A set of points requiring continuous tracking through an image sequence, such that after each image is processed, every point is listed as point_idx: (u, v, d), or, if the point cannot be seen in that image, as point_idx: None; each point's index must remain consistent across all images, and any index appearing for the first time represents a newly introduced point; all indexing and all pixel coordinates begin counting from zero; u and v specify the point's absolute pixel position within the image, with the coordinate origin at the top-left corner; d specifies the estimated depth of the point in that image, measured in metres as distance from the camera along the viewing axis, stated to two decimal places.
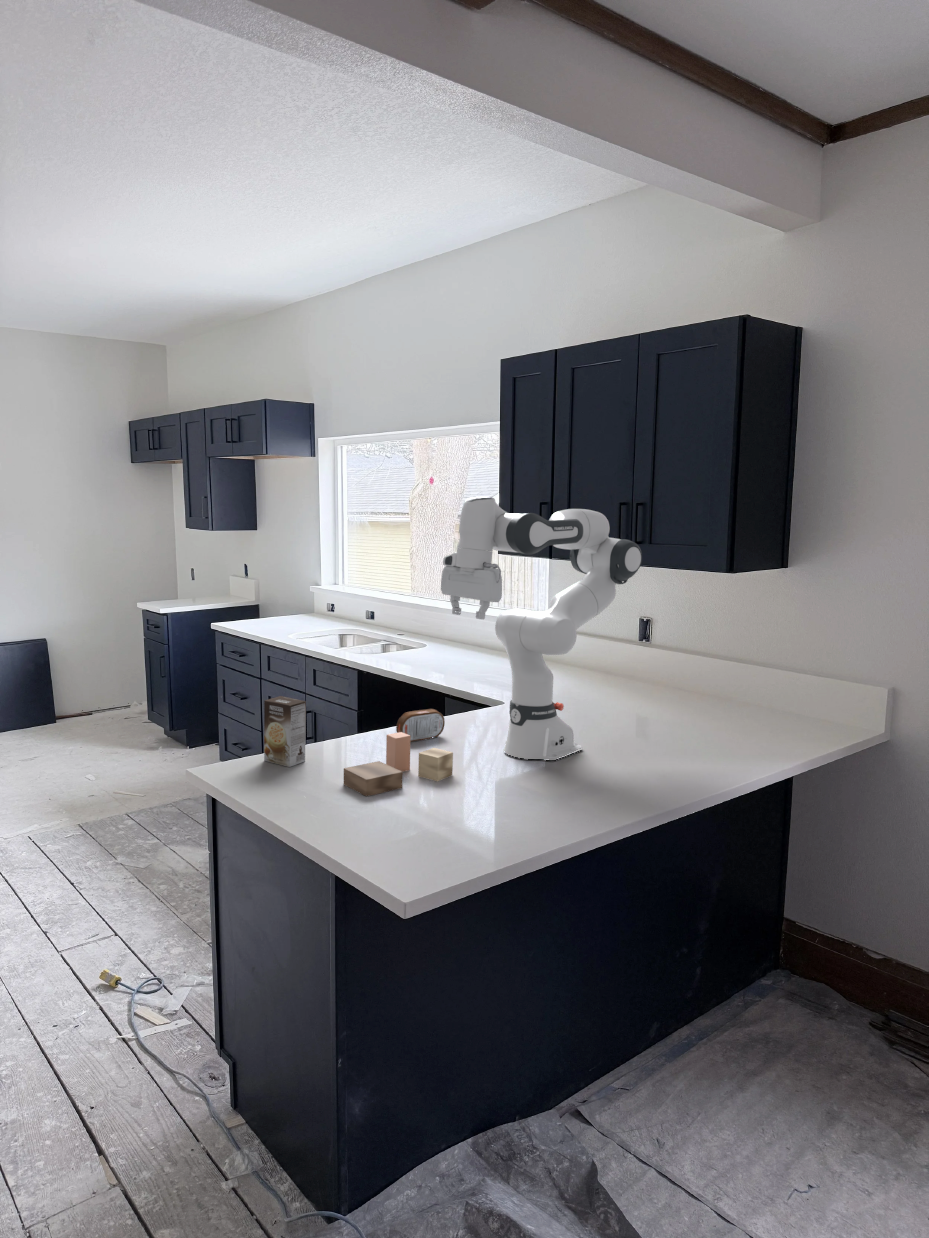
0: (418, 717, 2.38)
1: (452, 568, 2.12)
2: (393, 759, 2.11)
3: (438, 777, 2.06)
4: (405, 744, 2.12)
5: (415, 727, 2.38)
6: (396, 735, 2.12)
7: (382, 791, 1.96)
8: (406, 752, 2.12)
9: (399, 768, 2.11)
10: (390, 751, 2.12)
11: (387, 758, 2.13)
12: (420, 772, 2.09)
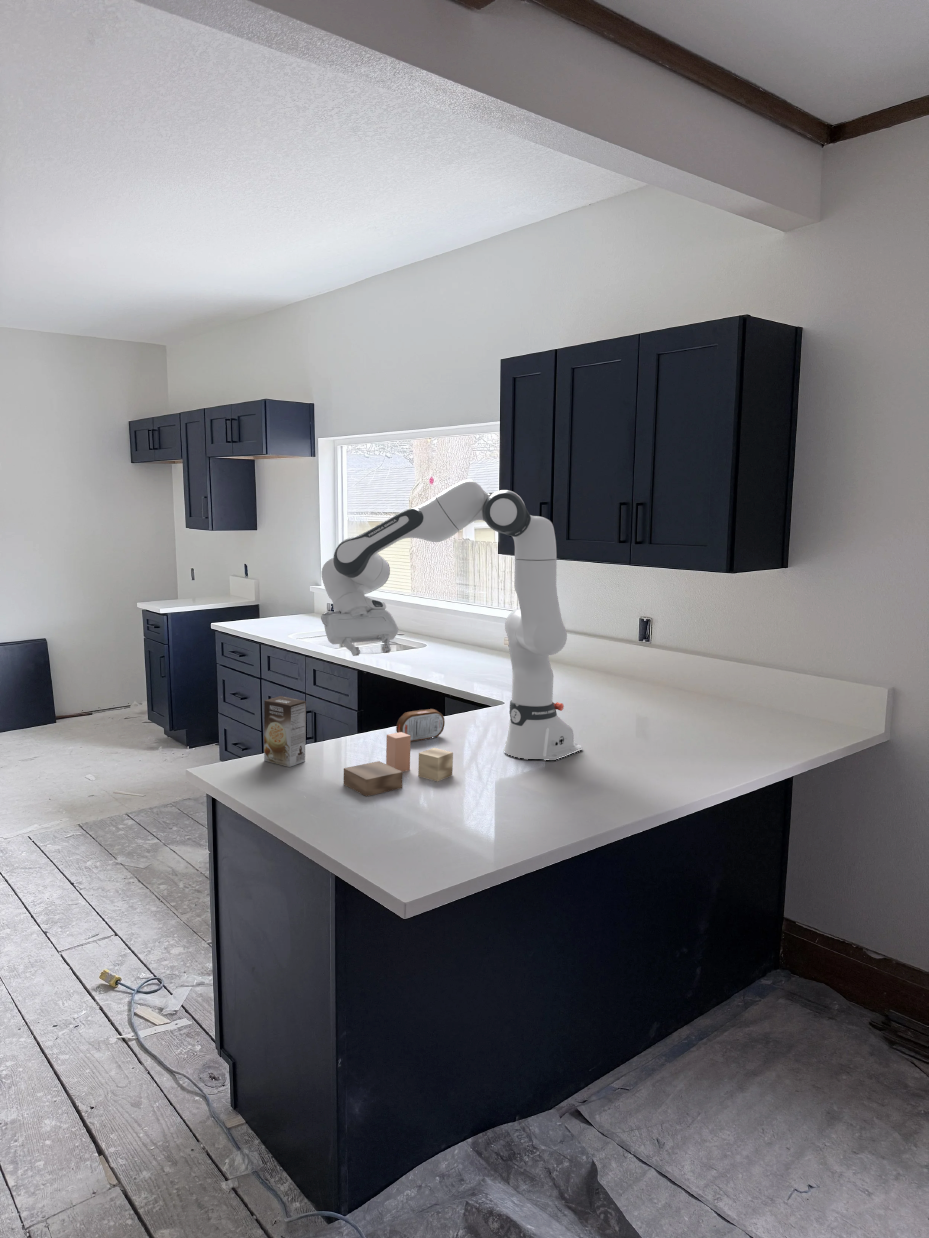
0: (418, 717, 2.38)
1: None
2: (393, 759, 2.11)
3: (438, 777, 2.06)
4: (405, 744, 2.12)
5: (415, 727, 2.38)
6: (396, 735, 2.12)
7: (382, 791, 1.96)
8: (406, 752, 2.12)
9: (399, 768, 2.11)
10: (390, 751, 2.12)
11: (387, 758, 2.13)
12: (420, 772, 2.09)
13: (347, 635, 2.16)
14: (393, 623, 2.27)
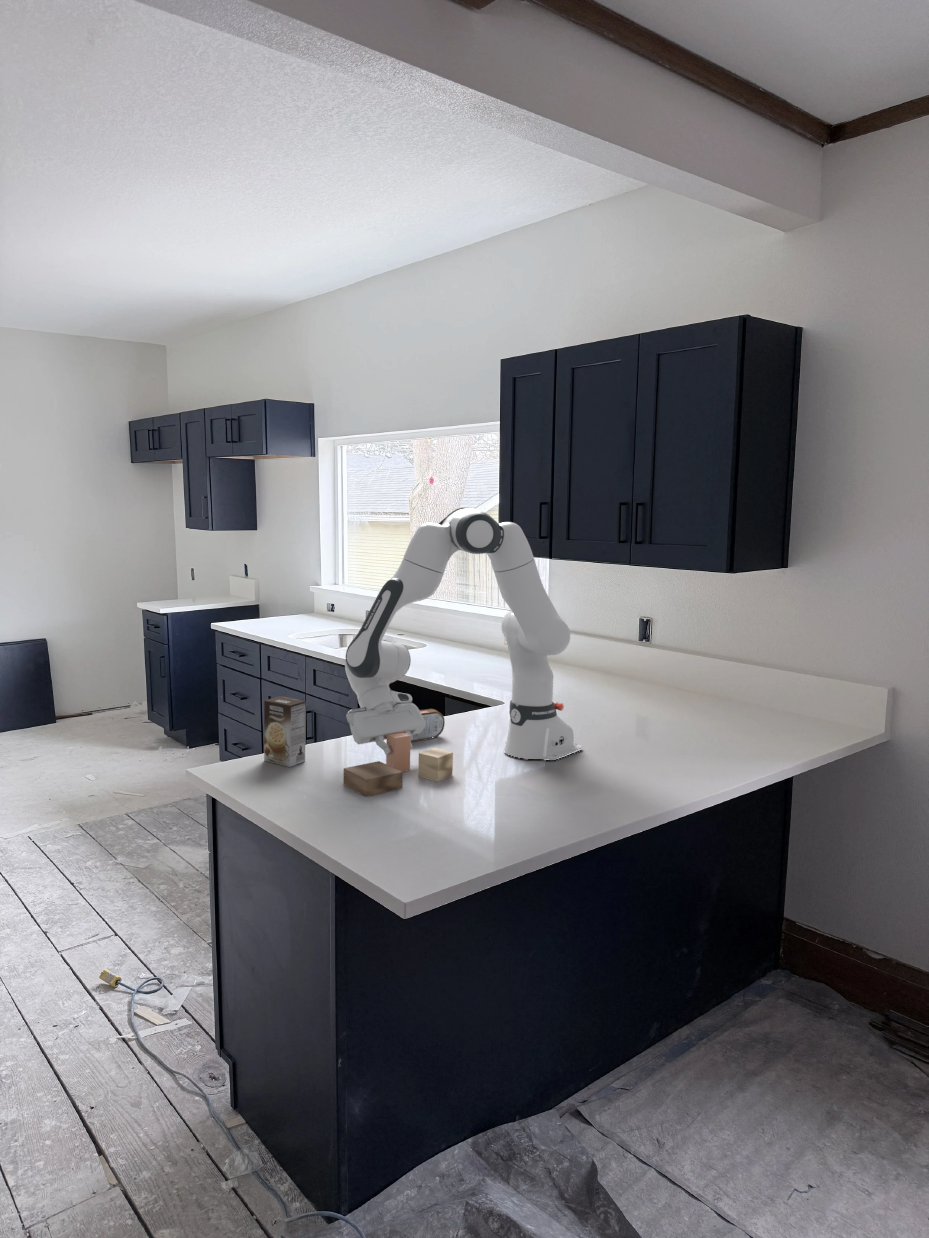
0: None
1: None
2: (393, 759, 2.11)
3: (438, 777, 2.06)
4: (405, 744, 2.12)
5: None
6: (396, 735, 2.12)
7: (382, 791, 1.96)
8: (406, 752, 2.12)
9: (399, 768, 2.11)
10: None
11: (387, 758, 2.13)
12: (420, 772, 2.09)
13: (373, 734, 2.10)
14: (420, 717, 2.20)
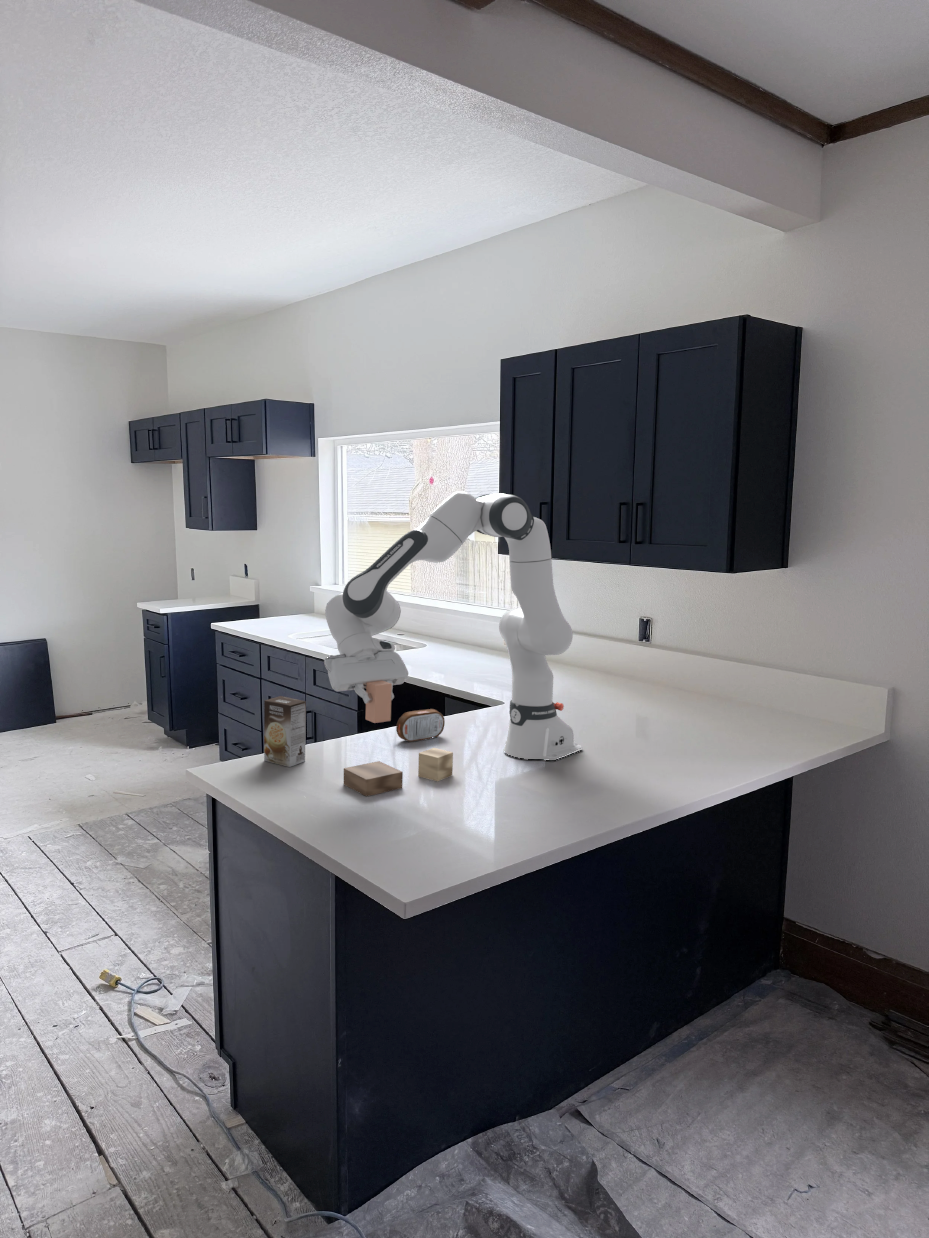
0: (418, 717, 2.38)
1: None
2: (373, 707, 1.99)
3: (438, 777, 2.06)
4: (386, 692, 2.00)
5: (415, 727, 2.38)
6: (377, 682, 2.01)
7: (382, 791, 1.96)
8: (387, 701, 2.01)
9: (379, 717, 2.00)
10: None
11: (366, 707, 2.01)
12: (420, 772, 2.09)
13: (352, 681, 1.98)
14: (403, 666, 2.09)
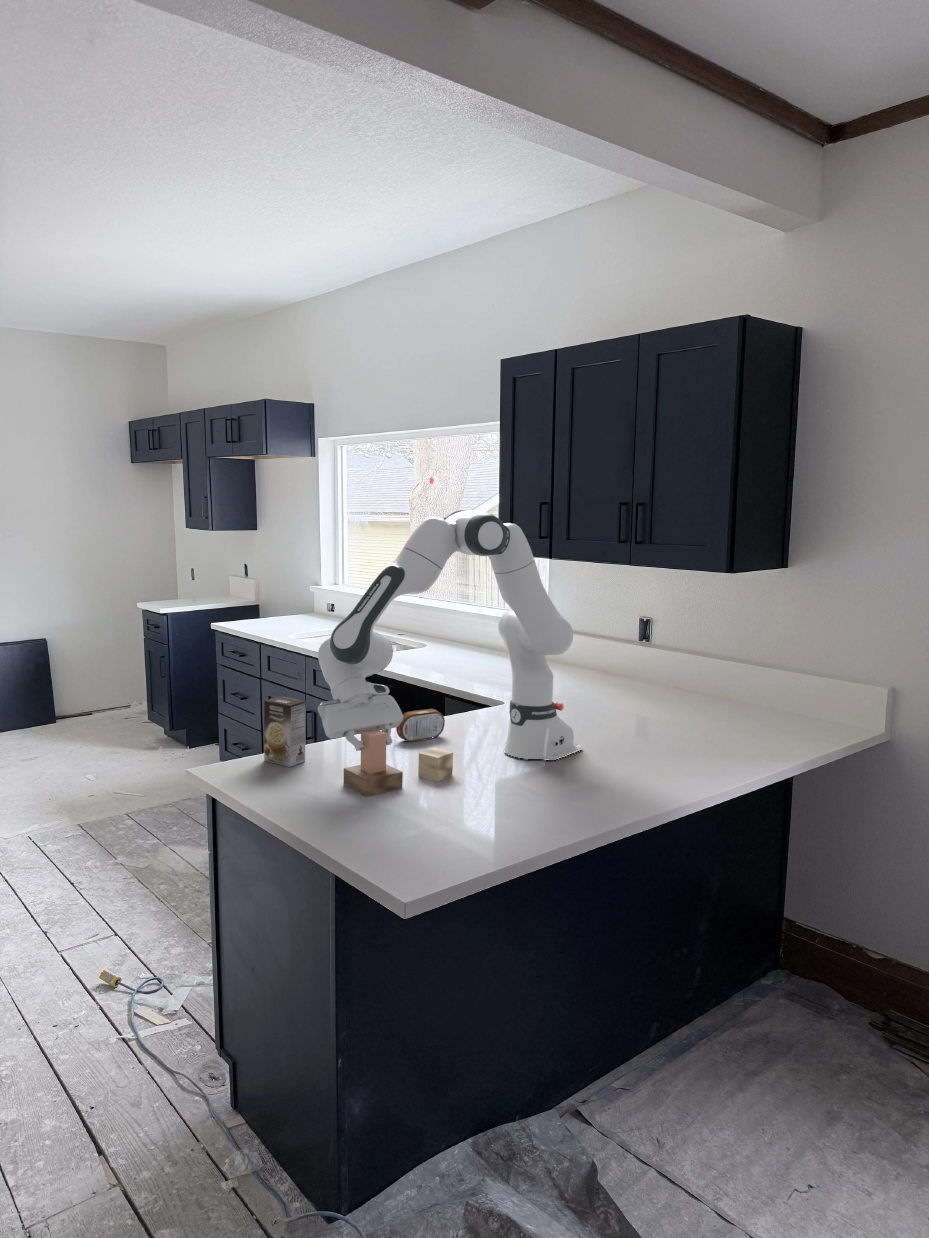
0: (418, 717, 2.38)
1: None
2: (368, 758, 1.97)
3: (438, 777, 2.06)
4: (380, 742, 1.98)
5: (415, 727, 2.38)
6: (371, 732, 1.99)
7: (382, 791, 1.96)
8: (382, 751, 1.99)
9: (374, 768, 1.98)
10: (364, 750, 1.98)
11: (361, 757, 2.00)
12: (420, 772, 2.09)
13: (347, 728, 1.96)
14: (397, 710, 2.06)
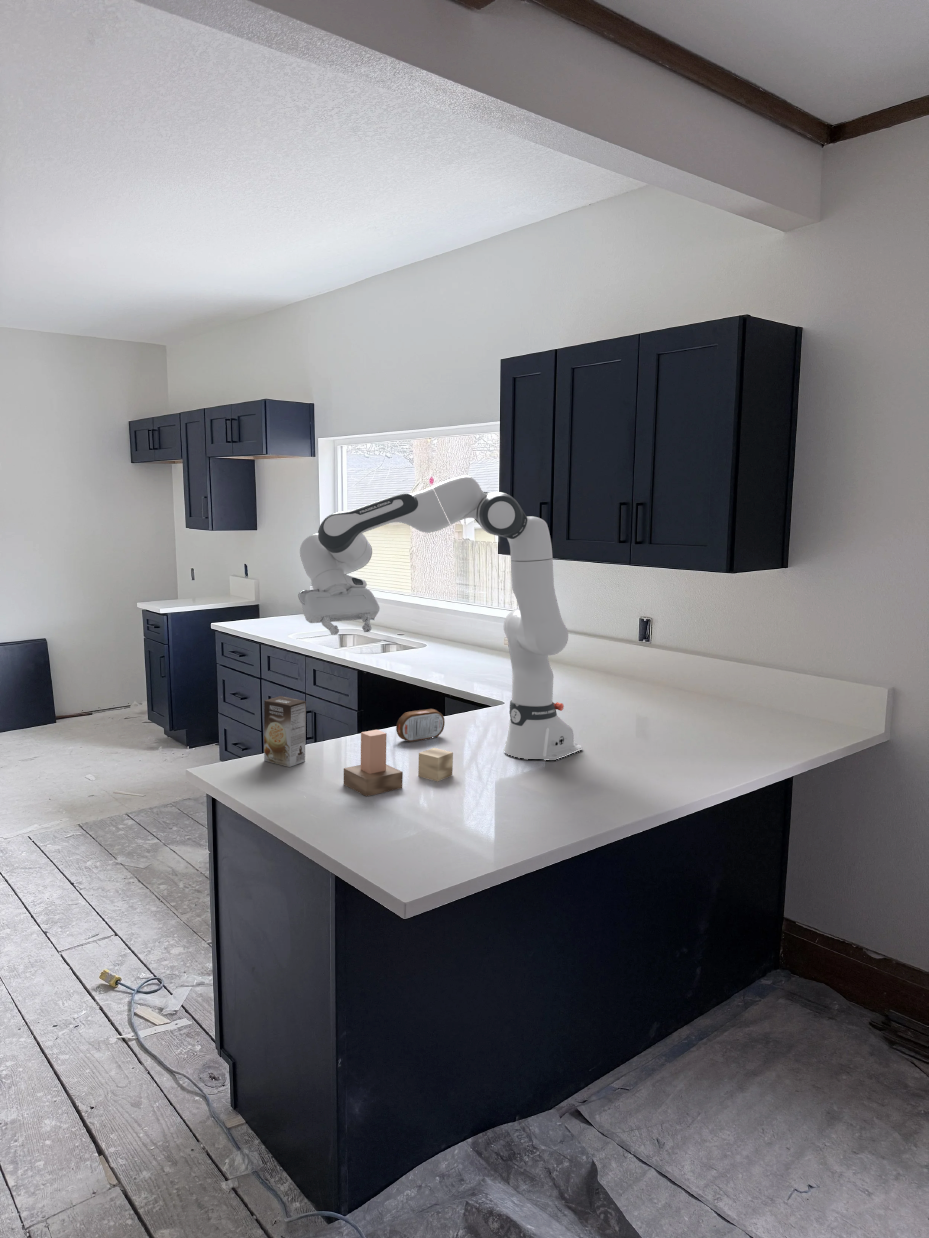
0: (418, 717, 2.38)
1: None
2: (368, 758, 1.97)
3: (438, 777, 2.06)
4: (380, 742, 1.98)
5: (415, 727, 2.38)
6: (371, 732, 1.99)
7: (382, 791, 1.96)
8: (382, 751, 1.99)
9: (374, 768, 1.98)
10: (364, 750, 1.98)
11: (361, 757, 2.00)
12: (420, 772, 2.09)
13: (325, 613, 2.08)
14: (374, 601, 2.19)
